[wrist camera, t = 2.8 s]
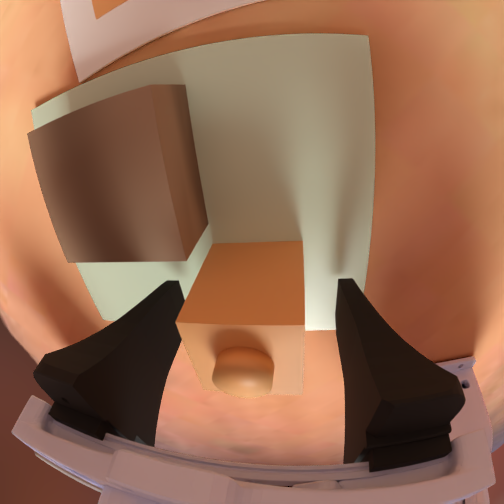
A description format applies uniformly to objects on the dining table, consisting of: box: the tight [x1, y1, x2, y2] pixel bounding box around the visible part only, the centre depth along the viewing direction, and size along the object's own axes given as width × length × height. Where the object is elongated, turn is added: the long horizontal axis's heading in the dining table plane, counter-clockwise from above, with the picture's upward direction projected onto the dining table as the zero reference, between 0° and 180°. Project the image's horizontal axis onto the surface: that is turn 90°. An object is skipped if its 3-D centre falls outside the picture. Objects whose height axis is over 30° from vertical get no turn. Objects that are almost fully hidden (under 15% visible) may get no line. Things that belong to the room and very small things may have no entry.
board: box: [31, 33, 375, 330], centre depth 13 cm, size 16×14×1 cm
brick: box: [175, 241, 305, 398], centre depth 11 cm, size 4×4×6 cm
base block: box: [27, 84, 209, 263], centre depth 10 cm, size 6×6×3 cm
